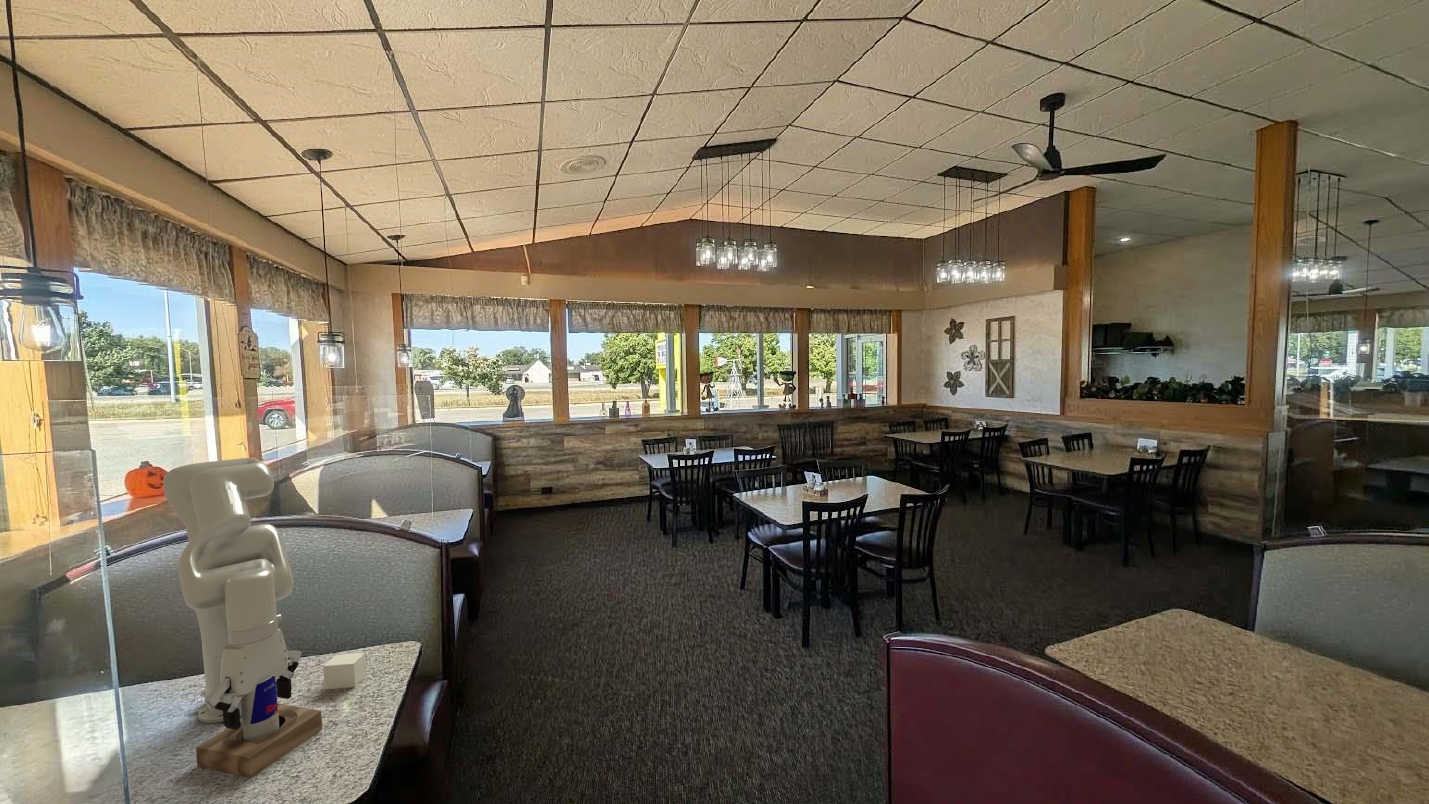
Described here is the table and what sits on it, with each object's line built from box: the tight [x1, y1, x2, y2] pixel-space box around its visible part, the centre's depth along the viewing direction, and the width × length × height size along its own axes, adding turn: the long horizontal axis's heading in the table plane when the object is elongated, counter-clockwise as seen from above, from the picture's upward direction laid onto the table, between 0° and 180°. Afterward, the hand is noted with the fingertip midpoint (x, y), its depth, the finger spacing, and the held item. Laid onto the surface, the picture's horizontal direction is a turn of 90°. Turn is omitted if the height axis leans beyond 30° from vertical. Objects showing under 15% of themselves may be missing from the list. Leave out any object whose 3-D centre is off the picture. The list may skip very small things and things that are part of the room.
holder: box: [195, 703, 323, 779], centre depth 107 cm, size 14×14×4 cm
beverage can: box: [240, 674, 279, 742], centre depth 107 cm, size 6×6×15 cm
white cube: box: [322, 652, 368, 690], centre depth 129 cm, size 7×5×6 cm
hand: (259, 712), depth 107 cm, fingers open, 9 cm apart
